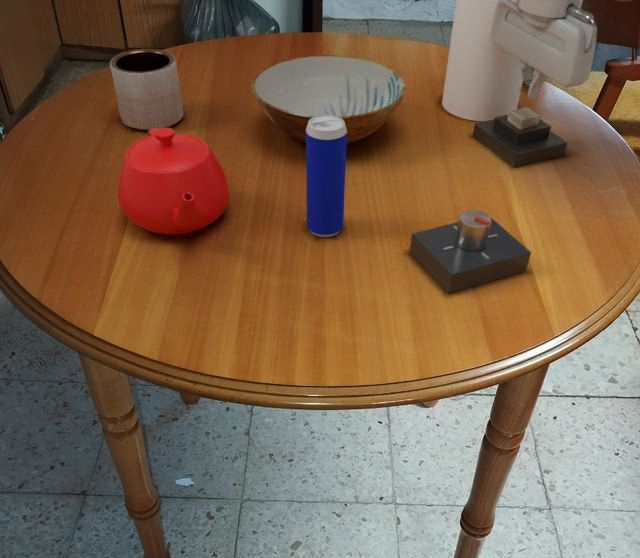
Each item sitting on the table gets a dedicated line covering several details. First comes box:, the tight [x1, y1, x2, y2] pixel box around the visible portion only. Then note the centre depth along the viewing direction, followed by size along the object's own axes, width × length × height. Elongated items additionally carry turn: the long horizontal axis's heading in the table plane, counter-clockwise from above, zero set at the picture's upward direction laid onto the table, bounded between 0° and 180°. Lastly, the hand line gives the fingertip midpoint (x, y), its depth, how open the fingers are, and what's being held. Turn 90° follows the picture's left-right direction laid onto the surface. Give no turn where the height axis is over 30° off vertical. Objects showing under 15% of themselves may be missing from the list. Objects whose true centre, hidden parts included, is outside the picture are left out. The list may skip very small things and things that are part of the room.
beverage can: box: [305, 115, 347, 238], centre depth 90 cm, size 5×5×15 cm
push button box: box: [472, 115, 568, 168], centre depth 111 cm, size 10×12×4 cm
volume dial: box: [455, 209, 492, 251], centre depth 87 cm, size 4×4×4 cm
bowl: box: [250, 54, 407, 146], centre depth 112 cm, size 25×25×8 cm
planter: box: [109, 48, 184, 132], centre depth 115 cm, size 11×11×10 cm
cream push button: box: [507, 107, 541, 129], centre depth 109 cm, size 4×4×2 cm
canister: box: [441, 0, 522, 122], centre depth 116 cm, size 14×14×20 cm
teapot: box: [117, 127, 231, 236], centre depth 93 cm, size 25×16×12 cm, turn 21°
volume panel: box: [409, 217, 532, 295], centre depth 89 cm, size 12×10×3 cm
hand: (528, 94), depth 107 cm, fingers closed
